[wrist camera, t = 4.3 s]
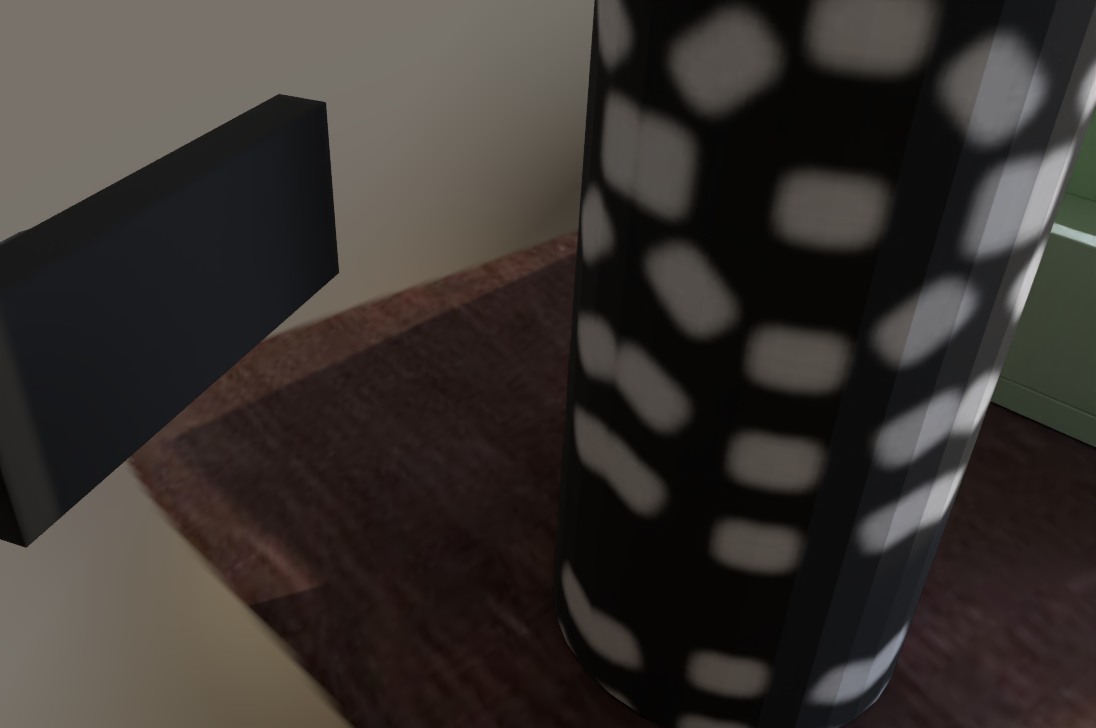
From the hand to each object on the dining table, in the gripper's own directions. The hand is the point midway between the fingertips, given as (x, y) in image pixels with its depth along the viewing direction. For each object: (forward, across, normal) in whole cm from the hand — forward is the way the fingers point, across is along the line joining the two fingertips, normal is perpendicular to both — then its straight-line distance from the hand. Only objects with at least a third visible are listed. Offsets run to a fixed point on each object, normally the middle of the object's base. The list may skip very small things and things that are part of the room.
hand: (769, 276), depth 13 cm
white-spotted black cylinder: (+6, 0, -12) cm, 13 cm away
